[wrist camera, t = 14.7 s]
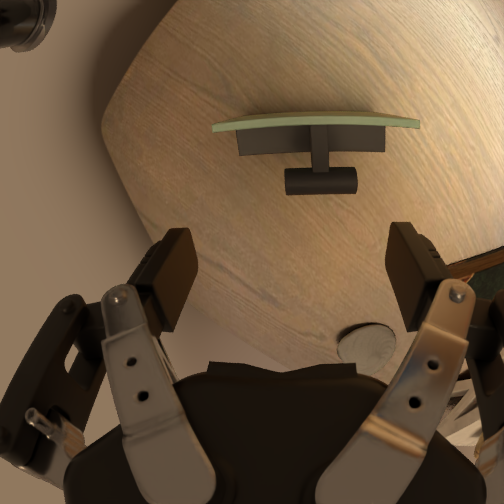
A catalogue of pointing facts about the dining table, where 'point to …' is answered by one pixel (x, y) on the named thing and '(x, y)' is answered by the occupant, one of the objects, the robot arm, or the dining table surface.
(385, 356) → the seashell
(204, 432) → the robot arm
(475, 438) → the wooden side table
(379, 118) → the sign
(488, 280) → the book
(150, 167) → the dining table surface
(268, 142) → the stand
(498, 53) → the dining table surface
